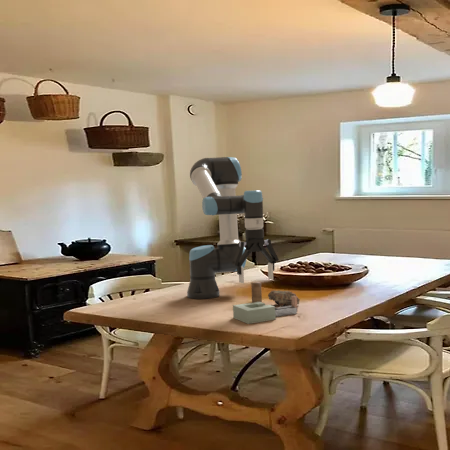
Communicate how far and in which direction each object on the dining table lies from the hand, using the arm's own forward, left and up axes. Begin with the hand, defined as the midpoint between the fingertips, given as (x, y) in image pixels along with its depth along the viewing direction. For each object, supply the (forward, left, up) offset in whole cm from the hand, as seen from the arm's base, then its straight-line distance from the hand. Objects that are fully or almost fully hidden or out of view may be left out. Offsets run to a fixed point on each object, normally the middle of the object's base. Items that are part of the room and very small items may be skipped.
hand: (256, 280), depth 249 cm
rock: (-4, +15, -13) cm, 21 cm away
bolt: (+10, +8, -12) cm, 18 cm away
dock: (+10, -7, -13) cm, 17 cm away
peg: (0, 0, -13) cm, 13 cm away
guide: (+10, +5, -13) cm, 17 cm away
